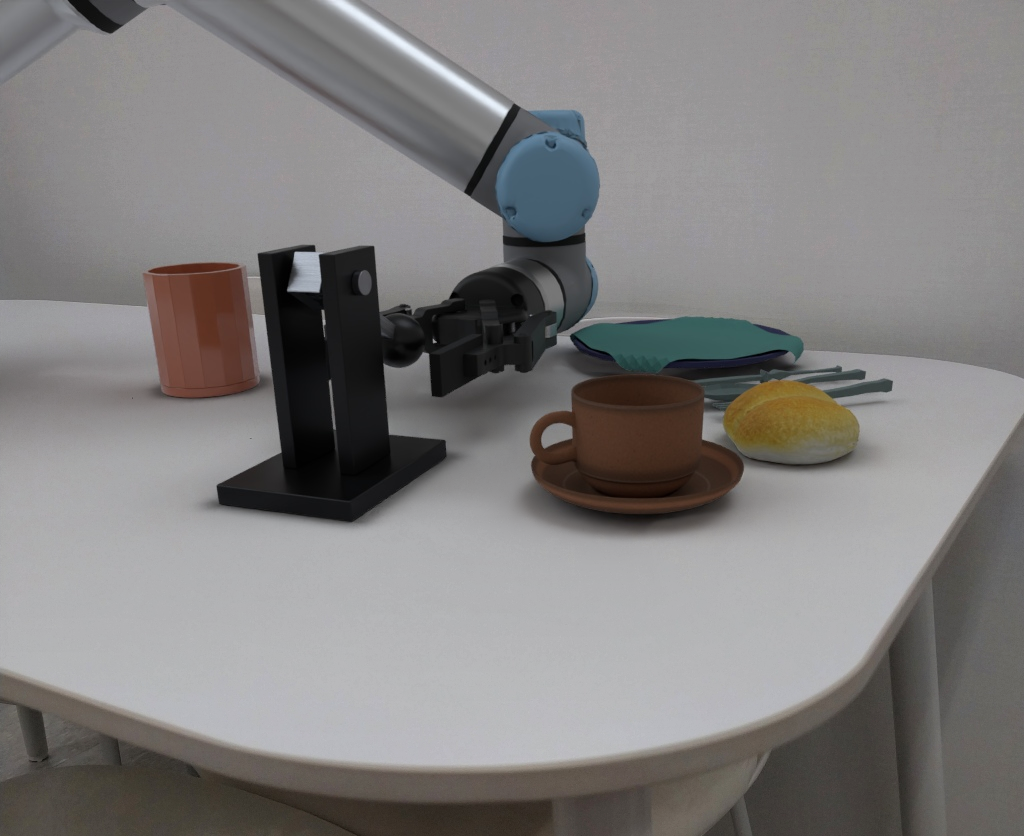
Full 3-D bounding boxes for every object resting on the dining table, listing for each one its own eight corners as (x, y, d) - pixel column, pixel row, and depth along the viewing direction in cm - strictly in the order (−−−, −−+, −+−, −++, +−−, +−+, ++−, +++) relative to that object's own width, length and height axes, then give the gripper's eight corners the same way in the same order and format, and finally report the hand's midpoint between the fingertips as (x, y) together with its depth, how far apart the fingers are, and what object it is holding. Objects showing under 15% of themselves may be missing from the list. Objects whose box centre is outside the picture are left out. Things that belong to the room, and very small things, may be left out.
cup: (140, 394, 82) (119, 273, 78) (203, 372, 89) (187, 261, 85) (219, 400, 79) (202, 275, 75) (278, 378, 86) (264, 262, 82)
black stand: (329, 445, 67) (308, 237, 62) (447, 457, 63) (435, 239, 58) (218, 504, 56) (182, 260, 51) (352, 522, 53) (327, 264, 48)
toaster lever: (382, 373, 67) (391, 323, 67) (428, 376, 65) (438, 325, 66) (273, 301, 55) (286, 241, 55) (328, 303, 53) (340, 241, 54)
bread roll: (747, 471, 59) (751, 407, 57) (712, 430, 67) (714, 373, 66) (881, 465, 59) (888, 401, 58) (829, 424, 68) (834, 368, 66)
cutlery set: (728, 331, 100) (730, 309, 99) (918, 400, 73) (922, 370, 72) (545, 347, 95) (544, 324, 94) (675, 427, 68) (676, 395, 67)
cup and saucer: (621, 551, 48) (622, 432, 46) (492, 487, 58) (488, 386, 55) (787, 499, 54) (796, 392, 52) (646, 449, 64) (648, 356, 61)
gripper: (628, 363, 78) (527, 442, 59) (394, 349, 86) (237, 415, 67) (630, 268, 76) (524, 318, 56) (388, 263, 83) (222, 305, 64)
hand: (368, 371), depth 62 cm, fingers open, 9 cm apart
